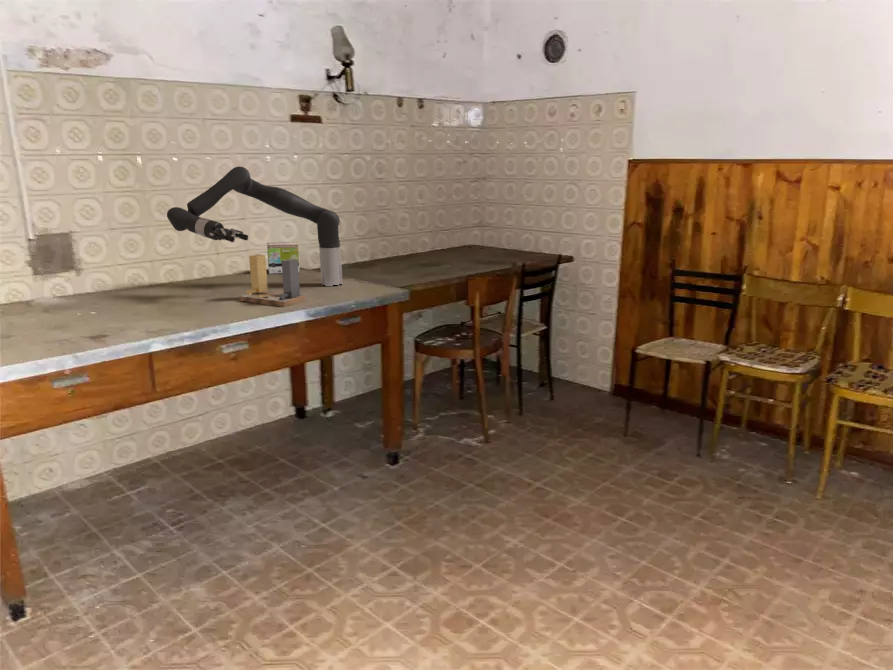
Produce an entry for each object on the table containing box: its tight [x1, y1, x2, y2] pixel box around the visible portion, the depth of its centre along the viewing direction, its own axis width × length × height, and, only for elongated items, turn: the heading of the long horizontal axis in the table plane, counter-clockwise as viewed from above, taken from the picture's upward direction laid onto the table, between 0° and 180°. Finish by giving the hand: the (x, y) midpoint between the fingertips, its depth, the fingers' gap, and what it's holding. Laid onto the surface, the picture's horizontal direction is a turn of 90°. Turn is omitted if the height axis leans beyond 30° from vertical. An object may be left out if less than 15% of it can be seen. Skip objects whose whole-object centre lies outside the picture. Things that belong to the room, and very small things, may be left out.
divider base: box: [239, 259, 306, 308], centre depth 273 cm, size 23×13×17 cm, turn 62°
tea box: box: [266, 241, 300, 275], centre depth 341 cm, size 15×10×15 cm, turn 106°
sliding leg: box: [245, 253, 269, 295], centre depth 277 cm, size 4×10×15 cm, turn 152°
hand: (240, 238), depth 276 cm, fingers open, 8 cm apart
